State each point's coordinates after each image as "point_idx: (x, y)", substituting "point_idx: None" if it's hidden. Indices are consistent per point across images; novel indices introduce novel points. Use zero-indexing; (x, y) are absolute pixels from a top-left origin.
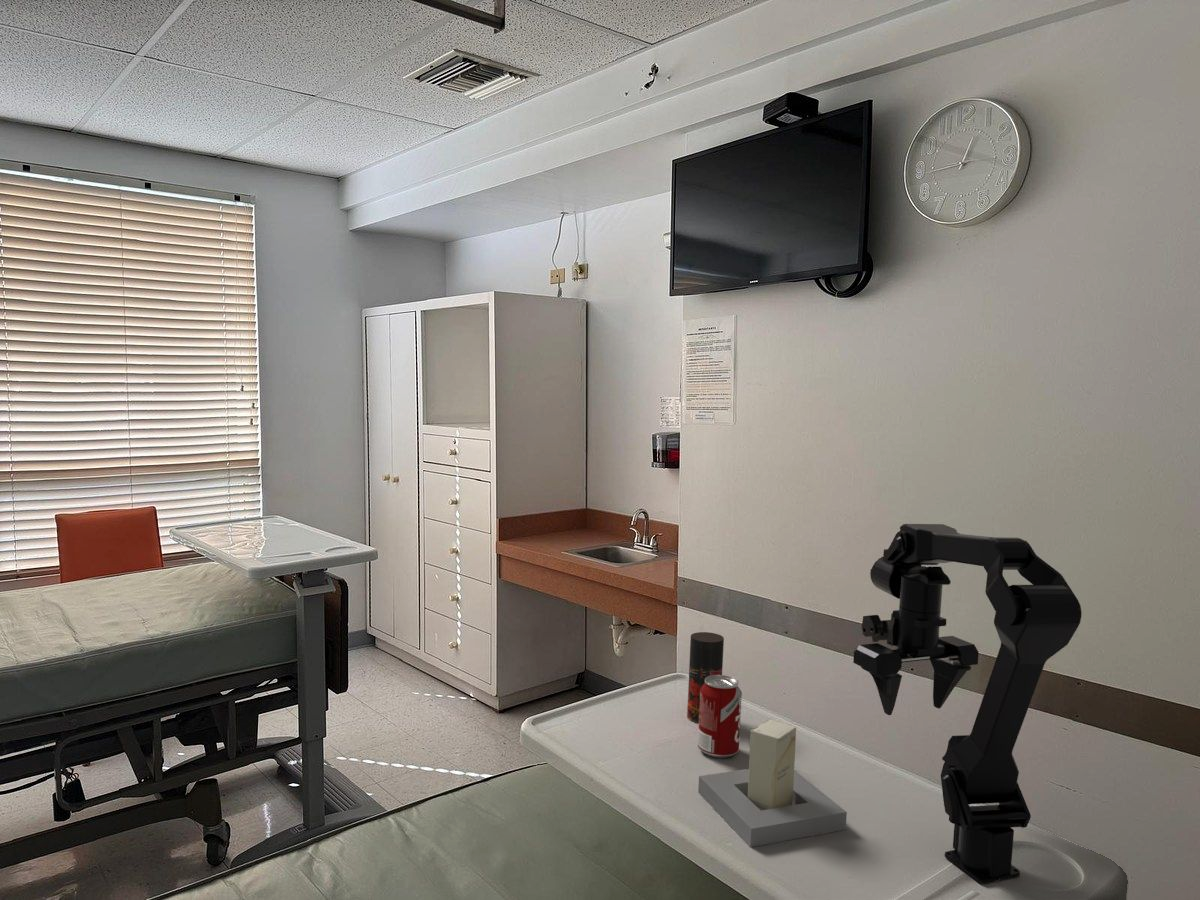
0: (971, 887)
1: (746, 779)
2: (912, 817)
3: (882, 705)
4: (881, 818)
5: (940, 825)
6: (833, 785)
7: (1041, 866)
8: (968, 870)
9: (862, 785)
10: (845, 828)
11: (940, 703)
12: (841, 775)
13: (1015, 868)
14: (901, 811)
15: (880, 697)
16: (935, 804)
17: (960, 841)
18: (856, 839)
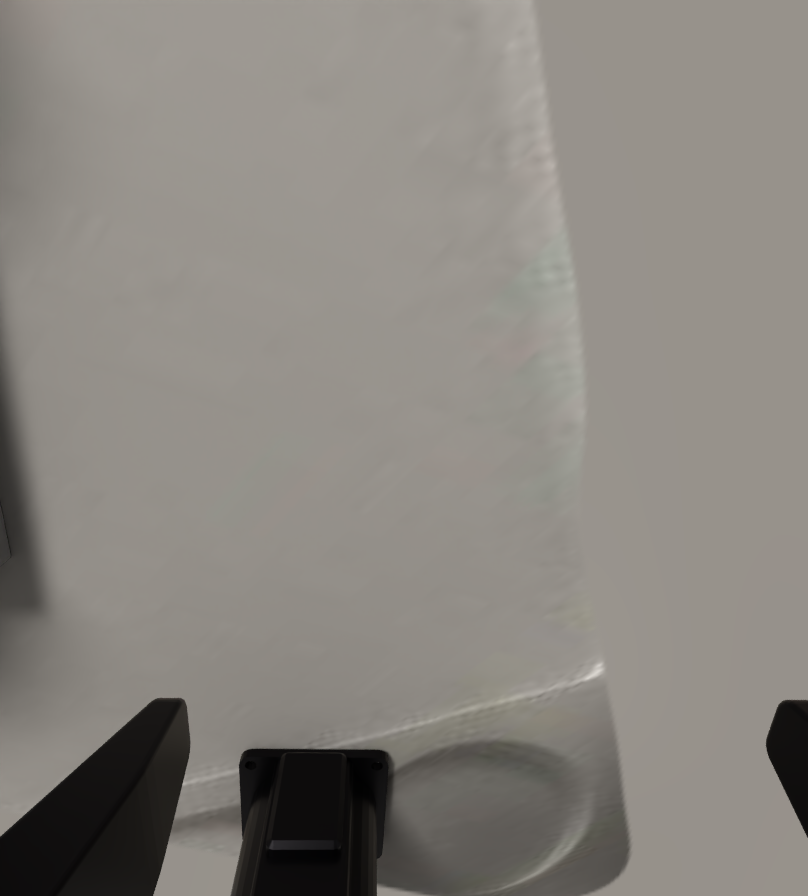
0: (216, 844)
1: None
2: (315, 565)
3: (98, 752)
4: (195, 537)
5: (372, 627)
6: (152, 255)
7: (474, 831)
8: (244, 826)
9: (291, 303)
10: (6, 559)
11: (799, 815)
12: (253, 179)
13: (378, 848)
14: (306, 523)
15: (8, 842)
16: (472, 524)
17: (243, 848)
18: (20, 610)
